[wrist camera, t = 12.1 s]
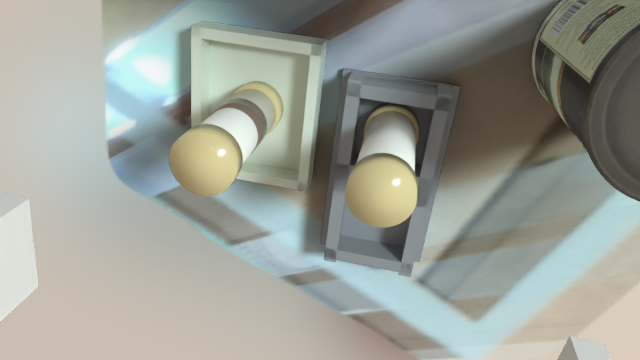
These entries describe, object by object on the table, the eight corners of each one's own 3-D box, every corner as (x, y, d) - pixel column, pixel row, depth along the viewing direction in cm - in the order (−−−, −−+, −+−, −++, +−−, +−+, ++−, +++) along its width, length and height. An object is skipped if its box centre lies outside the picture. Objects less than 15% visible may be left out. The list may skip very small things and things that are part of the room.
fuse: (369, 98, 40) (350, 157, 29) (423, 106, 40) (423, 170, 29) (362, 147, 42) (340, 220, 31) (413, 156, 42) (409, 233, 31)
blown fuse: (234, 77, 41) (168, 127, 31) (285, 85, 41) (235, 139, 30) (233, 126, 43) (169, 189, 32) (281, 134, 43) (233, 201, 32)
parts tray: (203, 20, 41) (190, 25, 38) (327, 39, 39) (322, 45, 37) (202, 159, 46) (191, 170, 44) (312, 178, 45) (306, 191, 43)
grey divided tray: (343, 68, 40) (338, 77, 38) (460, 85, 39) (462, 96, 36) (321, 240, 47) (315, 258, 45) (419, 258, 46) (419, 278, 44)
